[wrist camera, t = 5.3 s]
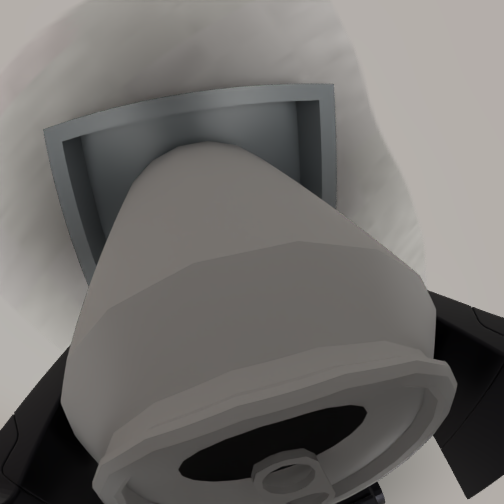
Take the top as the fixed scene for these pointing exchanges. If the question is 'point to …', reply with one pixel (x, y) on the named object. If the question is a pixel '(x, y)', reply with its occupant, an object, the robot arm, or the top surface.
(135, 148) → the bin
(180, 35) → the top surface
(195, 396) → the can
